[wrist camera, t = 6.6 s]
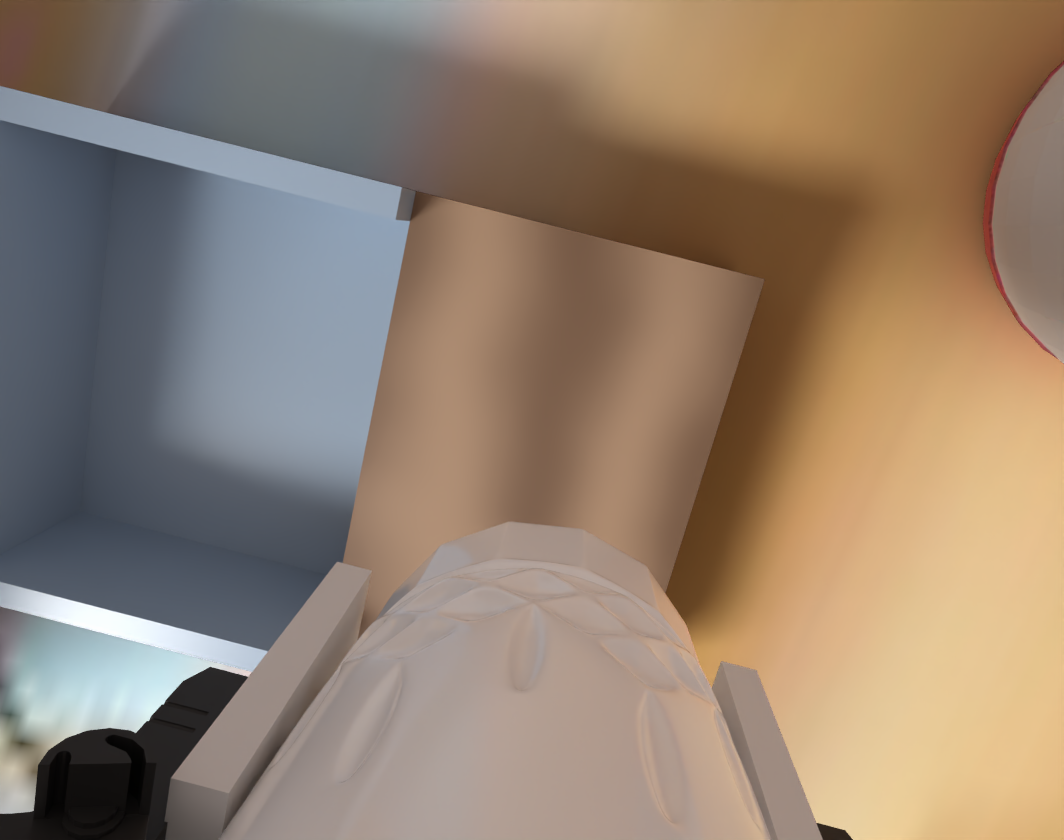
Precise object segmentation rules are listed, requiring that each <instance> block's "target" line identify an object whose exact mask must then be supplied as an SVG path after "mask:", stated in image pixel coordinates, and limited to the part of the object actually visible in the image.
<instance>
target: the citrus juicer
mask: <svg viewBox="0 0 1064 840" xmlns="http://www.w3.org/2000/svg"><path fill="white" fill-rule="evenodd" d="M983 229H984V239H985V250H986V255H987V258H988V261H989V264H990V267H991V271H992V274H993V277H994V280H995V282H996V285H997V287H998V289H999V291H1000V292H1001V294H1002V296H1003V297H1004V299H1005V301H1006V303H1007V304H1008V306H1009V308H1010V309H1011V311H1012V313H1013V315H1014V316H1015V318H1016V319H1017V321H1018V322H1019V324H1020V325H1021V326H1022V327H1023V328H1024V329H1025V330H1026V331H1027V333H1028V334H1029V335H1030V336H1031V337H1032V338H1033V339H1034V340H1035V341H1036V342H1037V343H1038V344H1039V345H1040V346H1041V347H1042V348H1043V349H1044V350H1045V351H1047V352H1048V353H1050V354H1051V355H1053V356H1054V357H1056V358H1057V359H1059V360H1060V361H1061V362H1062V363H1063V364H1064V61H1063V62H1062V63H1061V64H1060V65H1059V66H1058V67H1057V68H1056V69H1055V70H1054V71H1053V72H1052V73H1051V74H1050V75H1049V76H1048V77H1047V79H1046V80H1045V81H1044V83H1043V84H1042V85H1041V87H1040V88H1039V89H1038V91H1037V92H1036V93H1035V95H1034V96H1033V97H1032V99H1031V100H1030V101H1029V103H1028V104H1027V105H1026V107H1025V108H1024V109H1023V111H1022V112H1021V114H1020V115H1019V116H1018V118H1017V119H1016V121H1015V123H1014V125H1013V127H1012V129H1011V131H1010V133H1009V134H1008V136H1007V138H1006V140H1005V142H1004V144H1003V146H1002V148H1001V150H1000V152H999V154H998V156H997V158H996V160H995V164H994V167H993V170H992V174H991V177H990V180H989V183H988V187H987V190H986V198H985V207H984V217H983Z"/></svg>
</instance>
